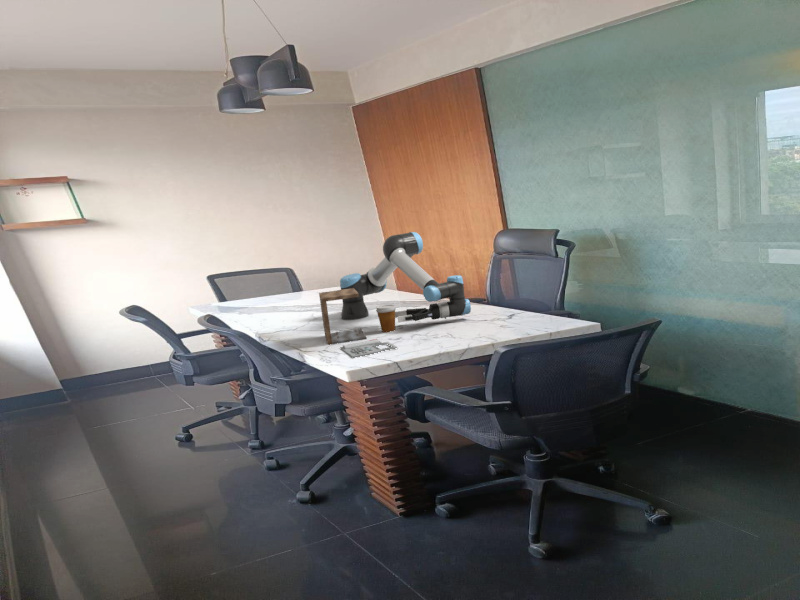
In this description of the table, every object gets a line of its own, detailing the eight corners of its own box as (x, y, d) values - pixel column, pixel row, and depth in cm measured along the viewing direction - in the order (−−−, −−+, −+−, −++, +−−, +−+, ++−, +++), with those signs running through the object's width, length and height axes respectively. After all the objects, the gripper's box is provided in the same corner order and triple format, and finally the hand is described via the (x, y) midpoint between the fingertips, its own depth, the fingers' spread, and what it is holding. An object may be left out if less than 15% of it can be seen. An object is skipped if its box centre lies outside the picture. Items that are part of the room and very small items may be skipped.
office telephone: (339, 344, 299) (381, 336, 305) (339, 350, 299) (382, 341, 305) (352, 353, 277) (398, 344, 283) (353, 359, 277) (399, 350, 283)
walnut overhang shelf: (361, 330, 333) (355, 287, 330) (366, 339, 312) (360, 293, 308) (325, 336, 331) (319, 292, 327) (327, 345, 309) (321, 298, 306)
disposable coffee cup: (383, 334, 318) (380, 309, 316) (375, 331, 327) (372, 307, 325) (401, 330, 322) (398, 305, 320) (393, 327, 330) (390, 303, 329)
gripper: (445, 322, 315) (401, 329, 312) (433, 314, 339) (392, 320, 336) (444, 306, 314) (399, 313, 311) (432, 299, 338) (390, 305, 335)
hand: (395, 317), depth 323 cm, fingers open, 13 cm apart
